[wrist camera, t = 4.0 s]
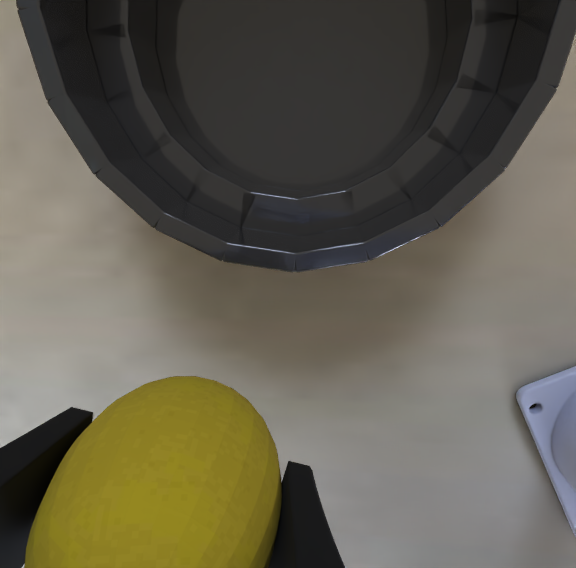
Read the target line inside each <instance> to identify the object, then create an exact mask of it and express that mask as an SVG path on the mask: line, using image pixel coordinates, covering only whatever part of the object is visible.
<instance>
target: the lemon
mask: <svg viewBox="0 0 576 568" xmlns="http://www.w3.org/2000/svg"><path fill="white" fill-rule="evenodd" d="M281 502H282V483H281V475H280V468H279V461H278V453H277V449H276V446H275V443H274V441H273V438H272V436H271V434H270V432H269V430H268V428H267V425H266V423H265V421H264V419H263V418H262V417H261V415H260V414H259V413H258V412H257V411H256V409H255V408H254V407H253V406H252V404H251V403H250V402H249V401H248V400H247V399H246V398H244V397H243V396H242V395H240V394H239V393H238V392H236V391H235V390H234V389H232V388H230V387H228V386H226V385H223V384H221V383H219V382H217V381H214V380H210V379H205V378H201V377H196V376H176V377H169V378H165V379H161V380H157V381H153V382H150V383H147V384H144V385H142V386H140V387H139V388H137V389H135V390H133V391H131V392H129V393H128V394H126V395H124V396H122V397H121V398H119V399H117V400H116V401H115V402H113V403H112V404H111V405H110V406H108V407H107V408H106V409H105V410H104V411H103V412H102V413H101V414H100V415H99V416H98V417H97V418H96V419H95V420H94V421H93V422H92V423H91V424H90V425H89V426H88V427H87V428H86V429H85V430H84V431H83V432H82V433H81V434H80V436H79V437H78V438H77V439H76V440H75V442H74V443H73V444H72V446H71V447H70V449H69V450H68V451H67V453H66V455H65V456H64V458H63V460H62V461H61V463H60V465H59V467H58V468H57V470H56V472H55V474H54V476H53V478H52V480H51V482H50V485H49V487H48V489H47V491H46V493H45V495H44V497H43V499H42V502H41V504H40V506H39V509H38V511H37V513H36V516H35V519H34V521H33V524H32V527H31V530H30V534H29V538H28V542H27V547H26V555H25V566H24V568H268V566H269V562H270V559H271V556H272V552H273V548H274V544H275V539H276V534H277V529H278V523H279V518H280V511H281Z"/></svg>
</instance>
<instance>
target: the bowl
mask: <svg viewBox="0 0 576 568" xmlns="http://www.w3.org/2000/svg"><path fill="white" fill-rule="evenodd" d="M16 4H17V8H18V9H19V10H18V14H19V18H20V21H21V24H22V27H23V30H24V33H25V36H26V39H27V42H28V45H29V48H30V51H31V54H32V57H33V61H34V64H35V67H36V70H37V73H38V76H39V79H40V82H41V85H42V88H43V91H44V94H45V97H46V99H47V100H48V104H49V106H50V107H51V109H52V110H53V112H54V114H55V115H56V117H57V118H58V120H59V121H60V123H61V124H62V126H63V128H64V129H65V131H66V132H67V134H68V135H69V137H70V138H71V140H72V142H73V143H74V145H75V146H76V148H77V149H78V151H79V152H80V154H81V156H82V157H83V159H84V160H85V162H86V163H87V165H88V166H89V168H90V170H91V171H92V173H93V174H94V175H95V174H96V177H97V178H98V179H99V180H100V181H102V182H103V183H104V184H105V185H106V186H107V187H108V188H109V189H110V190H112V191H113V192H114V193H115V194H116V195H117V196H118V197H119V198H120V199H122V200H123V201H124V202H125V203H126V204H127V205H128V206H129V207H130V208H132V209H133V210H134V211H135V212H136V213H137V214H138V215H139V216H141V217H142V218H143V219H144V220H145V221H146V222H147V223H148V224H149V225H151V226H152V227H153V228H155V229H156V230H157V231H159V232H162V233H164V234H166V235H168V236H170V237H172V238H174V239H176V240H178V241H180V242H182V243H184V244H187V245H189V246H191V247H193V248H195V249H197V250H199V251H201V252H203V253H205V254H207V255H209V256H211V257H214V258H216V259H218V260H220V261H222V260H223V261H224V262H227V263H234V264H241V265H247V266H254V267H260V268H267V269H273V270H280V271H287V272H304V271H310V270H317V269H324V268H330V267H337V266H343V265H350V264H357V263H363V262H367V261H368V260H369V261H371V260H373V259H376V258H378V257H380V256H382V255H384V254H386V253H388V252H390V251H392V250H394V249H396V248H399V247H401V246H403V245H405V244H407V243H409V242H411V241H413V240H415V239H417V238H420V237H422V236H424V235H426V234H428V233H430V232H432V231H434V230H436V229H438V228H439V226H440V227H442V226H443V225H444V224H445V223H447V222H448V221H449V220H450V219H451V218H452V217H453V216H454V215H456V214H457V213H458V212H459V211H460V210H461V209H462V208H463V207H465V206H466V205H467V204H468V203H469V202H470V201H471V200H472V199H474V198H475V197H476V196H477V195H478V194H479V193H480V192H481V191H482V190H484V189H485V188H486V187H487V186H488V185H489V184H490V183H491V182H493V181H494V180H495V179H496V178H497V177H498V176H499V175H500V174H502V173H503V172H504V171H505V169H506V168H507V166H508V165H509V163H510V162H511V160H512V159H513V157H514V156H515V154H516V153H517V151H518V149H519V148H520V146H521V145H522V143H523V142H524V140H525V139H526V137H527V136H528V134H529V132H530V131H531V129H532V128H533V126H534V125H535V123H536V122H537V120H538V118H539V117H540V115H541V114H542V112H543V111H544V109H545V108H546V106H547V105H548V103H549V101H550V100H551V98H552V97H553V95H554V94H555V92H556V90H557V89H556V88H557V87H558V86H559V83H560V80H561V77H562V74H563V71H564V68H565V64H566V61H567V58H568V55H569V52H570V49H571V46H572V43H573V39H574V36H575V33H576V0H16Z"/></svg>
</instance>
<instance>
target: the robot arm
mask: <svg viewBox="0 0 576 568" xmlns="http://www.w3.org/2000/svg"><path fill="white" fill-rule="evenodd" d="M516 399H517V402H518V404H519V406H520V409H521V411H522V413H523V416H524V418H525V421H526V423H527V425H528V428H529V430H530V432H531V435H532V437H533V439H534V442H535V444H536V447H537V449H538V451H539V454H540V456H541V458H542V461H543V463H544V465H545V468H546V470H547V472H548V475H549V477H550V480H551V482H552V484H553V487H554V489H555V491H556V494H557V496H558V498H559V501H560V503H561V506H562V508H563V510H564V513H565V515H566V517H567V520H568V522H569V524H570V527H571V529H572V532H573V534H574V536H575V538H576V366H574V367H572V368H569V369H566V370H564V371H561V372H559V373H556V374H553V375H551V376H548V377H546V378H543V379H540V380H538V381H535V382H532V383H530V384H527V385H525V386H523V387H521V388H520V389H519V390H518V391H517V393H516ZM535 403H538V404H537V405H536V406H535V407H534V408H530V406H531V405H533V404H535ZM92 418H93V412H89V411H85V410H81V409H77V408H73V407H71V408H69V409H67V410H66V411H64V412H62V413H60V414H59V415H57V416H55V417H53V418H52V419H50V420H48V421H47V422H45V423H43V424H42V425H40V426H38V427H36V428H35V429H33V430H31V431H30V432H28V433H26V434H24V435H23V436H21V437H19V438H17V439H16V440H14V441H12V442H10V443H8V444H7V445H5V446H3V447H1V448H0V568H21V567H22V566H23V565H24V563H25V555H26V547H27V542H28V538H29V534H30V530H31V527H32V524H33V521H34V519H35V516H36V513H37V511H38V509H39V506H40V504H41V502H42V499H43V497H44V495H45V493H46V491H47V489H48V487H49V485H50V482H51V480H52V478H53V476H54V474H55V472H56V470H57V468H58V467H59V465H60V463H61V461H62V460H63V458H64V456H65V455H66V453H67V451H68V450H69V449H70V447H71V446H72V444H73V443H74V442H75V440H76V439H77V438H78V437H79V436H80V434H81V433H82V432H83V431H84V430H85V429H86V428H87V427H88V426H89V425H90V424H91V423H92ZM268 568H345V566H344V564H343V561H342V559H341V557H340V554H339V552H338V549H337V547H336V544H335V542H334V539H333V536H332V533H331V531H330V528H329V525H328V522H327V520H326V517H325V514H324V511H323V508H322V504H321V501H320V498H319V495H318V491H317V488H316V484H315V480H314V476H313V471H312V469H311V468H310V466H307V465H303V464H299V463H295V462H291V461H288V464H287V467H286V471H285V474H284V477H283V480H282V502H281V511H280V518H279V523H278V529H277V534H276V539H275V544H274V548H273V552H272V556H271V559H270V562H269V566H268Z"/></svg>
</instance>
